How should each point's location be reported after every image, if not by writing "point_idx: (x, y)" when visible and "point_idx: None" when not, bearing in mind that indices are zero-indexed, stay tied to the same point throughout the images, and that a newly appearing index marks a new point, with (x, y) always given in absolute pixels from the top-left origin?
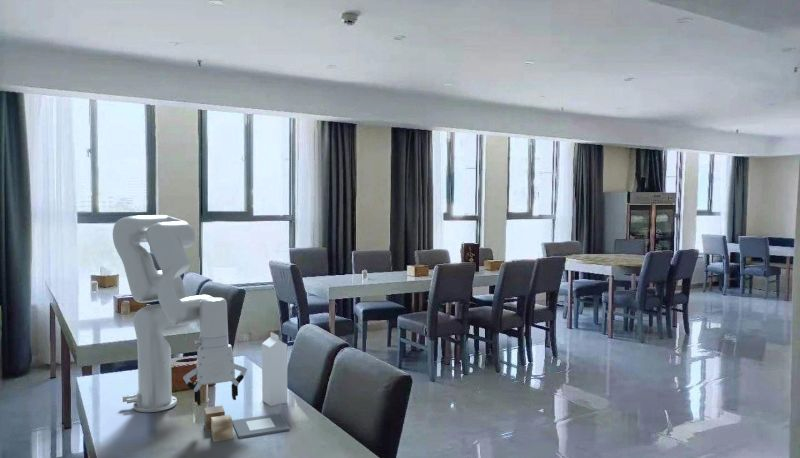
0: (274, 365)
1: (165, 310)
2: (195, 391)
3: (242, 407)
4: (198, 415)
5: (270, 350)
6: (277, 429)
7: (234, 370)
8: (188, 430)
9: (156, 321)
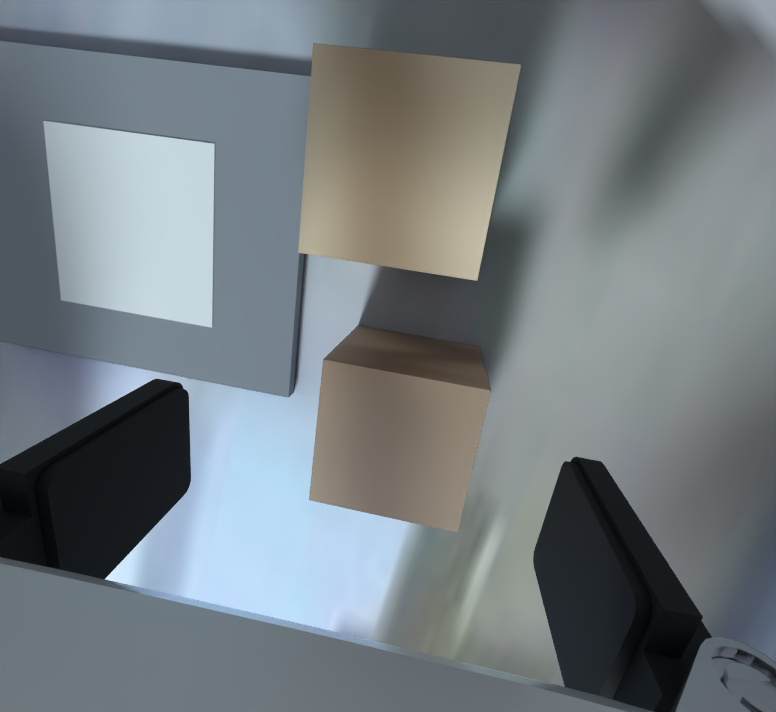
0: None
1: None
2: (738, 647)
3: (195, 563)
4: (444, 599)
5: None
6: (33, 57)
7: None
8: (579, 423)
9: None
